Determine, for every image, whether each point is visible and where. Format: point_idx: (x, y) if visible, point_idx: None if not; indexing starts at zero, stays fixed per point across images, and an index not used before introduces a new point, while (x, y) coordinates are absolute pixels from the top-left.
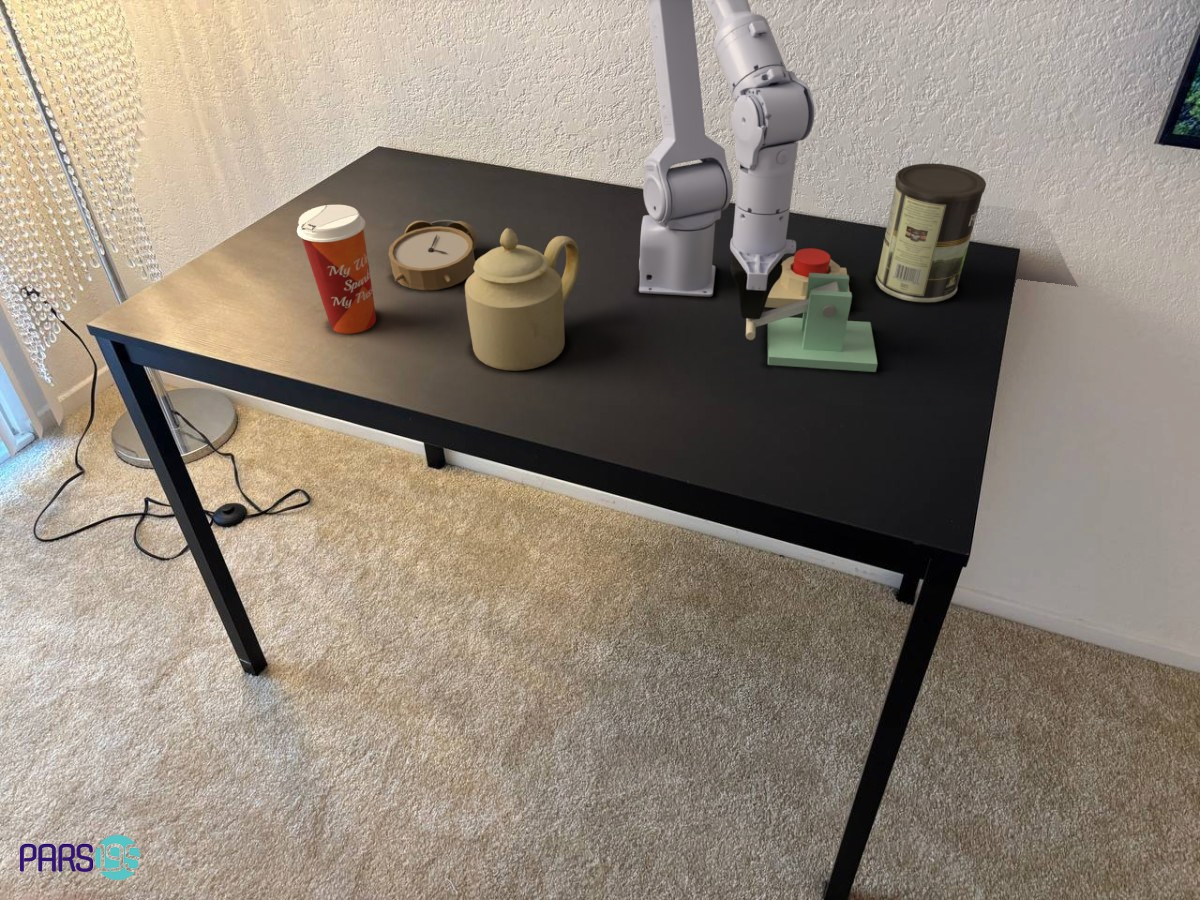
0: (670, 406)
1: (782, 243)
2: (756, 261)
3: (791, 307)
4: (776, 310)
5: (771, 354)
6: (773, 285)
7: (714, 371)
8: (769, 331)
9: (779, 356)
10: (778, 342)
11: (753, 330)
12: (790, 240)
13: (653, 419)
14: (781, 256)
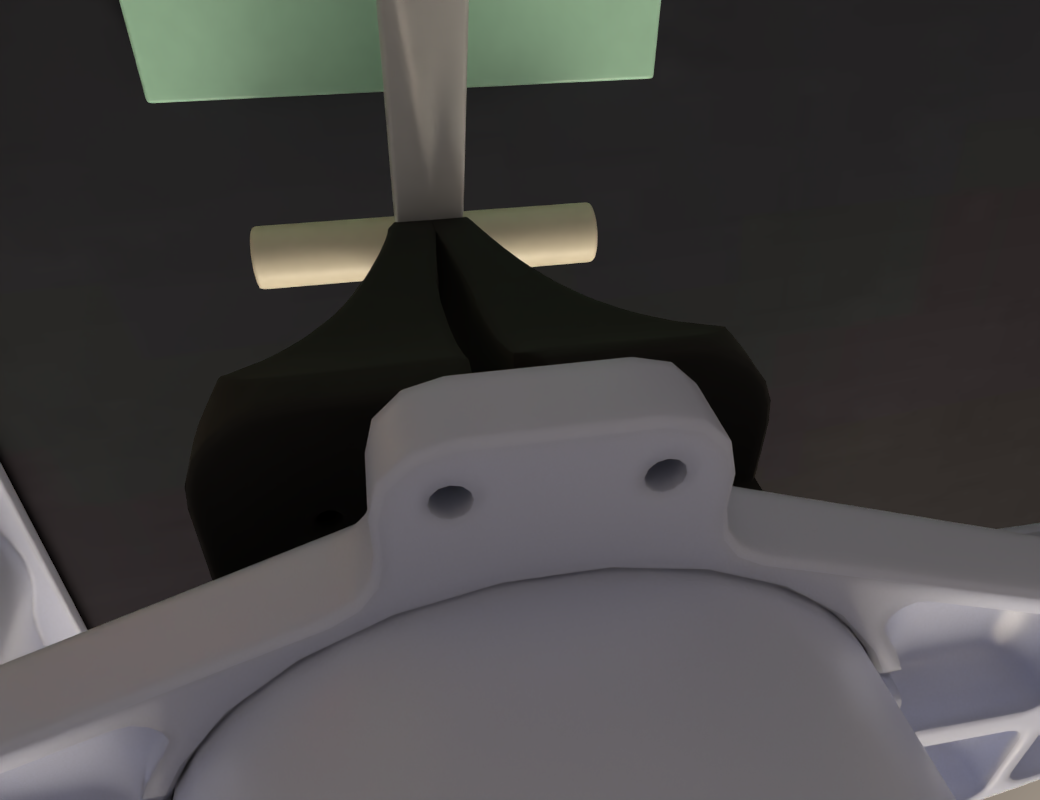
0: (902, 416)
1: (813, 677)
2: (1028, 728)
3: (456, 12)
4: (425, 124)
5: (630, 63)
6: (635, 313)
7: (686, 310)
8: (358, 88)
9: (654, 9)
10: (487, 20)
11: (571, 231)
12: (414, 530)
13: (961, 447)
14: (829, 519)
